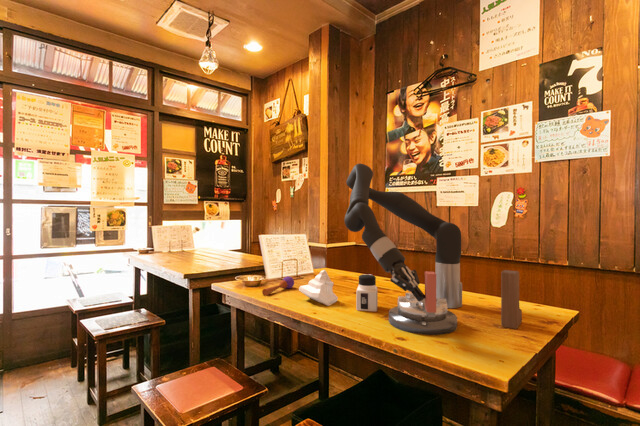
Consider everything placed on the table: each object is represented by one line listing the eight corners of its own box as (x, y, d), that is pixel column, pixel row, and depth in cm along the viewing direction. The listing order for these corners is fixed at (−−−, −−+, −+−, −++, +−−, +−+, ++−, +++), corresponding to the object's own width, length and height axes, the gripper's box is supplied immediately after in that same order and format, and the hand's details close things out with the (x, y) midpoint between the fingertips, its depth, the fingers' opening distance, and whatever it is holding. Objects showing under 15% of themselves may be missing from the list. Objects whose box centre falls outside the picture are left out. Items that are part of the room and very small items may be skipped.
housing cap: (437, 312, 125) (437, 303, 125) (470, 333, 103) (470, 322, 103) (380, 314, 122) (380, 305, 122) (402, 336, 100) (402, 325, 100)
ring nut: (395, 305, 121) (395, 260, 121) (441, 307, 119) (441, 261, 119) (403, 330, 96) (403, 273, 96) (461, 333, 94) (461, 274, 94)
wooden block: (507, 319, 116) (507, 268, 116) (521, 322, 113) (521, 269, 113) (500, 326, 109) (501, 271, 109) (516, 329, 106) (516, 273, 106)
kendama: (258, 286, 151) (285, 275, 168) (261, 299, 151) (288, 287, 168) (268, 285, 148) (295, 274, 165) (271, 298, 148) (297, 286, 165)
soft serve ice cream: (320, 299, 149) (328, 268, 150) (340, 310, 137) (348, 276, 137) (297, 295, 142) (305, 263, 143) (315, 307, 130) (324, 271, 131)
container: (376, 311, 125) (376, 277, 125) (356, 310, 127) (356, 276, 127) (377, 306, 133) (377, 273, 133) (358, 305, 134) (358, 272, 134)
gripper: (390, 259, 113) (424, 302, 105) (368, 263, 104) (402, 311, 95) (405, 245, 110) (440, 288, 101) (382, 248, 100) (420, 296, 92)
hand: (422, 299), depth 98 cm, fingers closed
